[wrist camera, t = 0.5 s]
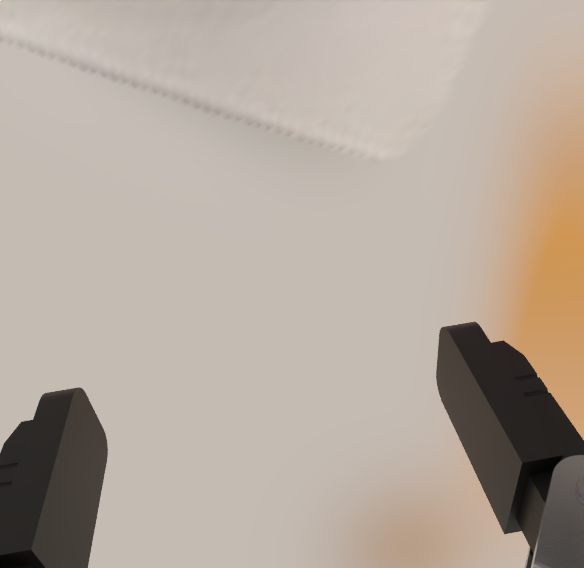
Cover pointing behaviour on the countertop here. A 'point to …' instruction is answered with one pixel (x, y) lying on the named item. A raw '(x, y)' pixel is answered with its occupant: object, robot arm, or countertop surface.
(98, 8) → the countertop surface
